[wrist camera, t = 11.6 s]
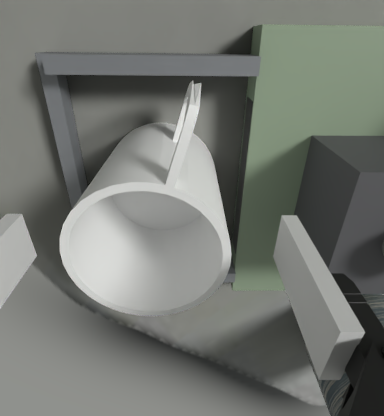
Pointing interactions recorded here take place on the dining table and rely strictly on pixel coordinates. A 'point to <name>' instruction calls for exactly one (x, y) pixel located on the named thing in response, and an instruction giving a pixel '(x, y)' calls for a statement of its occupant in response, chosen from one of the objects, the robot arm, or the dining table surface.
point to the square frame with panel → (277, 141)
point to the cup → (151, 222)
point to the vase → (336, 388)
